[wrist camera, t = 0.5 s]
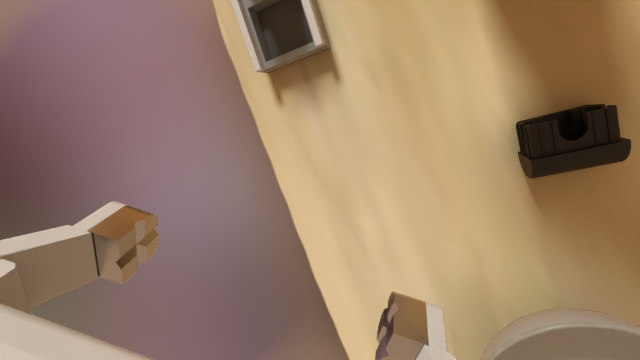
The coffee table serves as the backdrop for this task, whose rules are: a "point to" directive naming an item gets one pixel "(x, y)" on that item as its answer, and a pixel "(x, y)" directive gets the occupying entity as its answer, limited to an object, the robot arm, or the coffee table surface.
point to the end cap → (571, 140)
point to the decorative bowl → (566, 337)
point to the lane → (280, 31)
